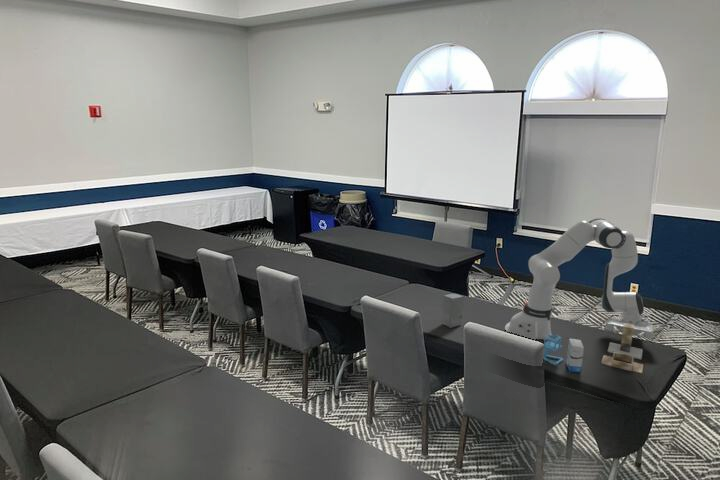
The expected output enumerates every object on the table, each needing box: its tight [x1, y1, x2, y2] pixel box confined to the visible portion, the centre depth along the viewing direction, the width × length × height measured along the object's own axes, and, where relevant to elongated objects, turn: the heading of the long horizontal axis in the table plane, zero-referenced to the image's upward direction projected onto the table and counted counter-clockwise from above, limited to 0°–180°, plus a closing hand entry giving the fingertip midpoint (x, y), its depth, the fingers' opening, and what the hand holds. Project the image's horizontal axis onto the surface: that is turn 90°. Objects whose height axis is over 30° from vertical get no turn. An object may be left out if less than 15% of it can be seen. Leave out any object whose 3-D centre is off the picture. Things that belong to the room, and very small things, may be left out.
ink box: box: [565, 338, 585, 373], centre depth 227 cm, size 8×5×12 cm, turn 168°
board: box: [607, 341, 644, 360], centre depth 244 cm, size 14×10×1 cm
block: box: [620, 323, 634, 353], centre depth 243 cm, size 4×5×12 cm
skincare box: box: [441, 293, 464, 329], centre depth 269 cm, size 8×7×16 cm
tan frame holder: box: [600, 352, 644, 375], centre depth 232 cm, size 16×9×3 cm, turn 59°
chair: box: [542, 334, 564, 367], centre depth 234 cm, size 8×8×12 cm
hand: (627, 334), depth 242 cm, fingers open, 8 cm apart
